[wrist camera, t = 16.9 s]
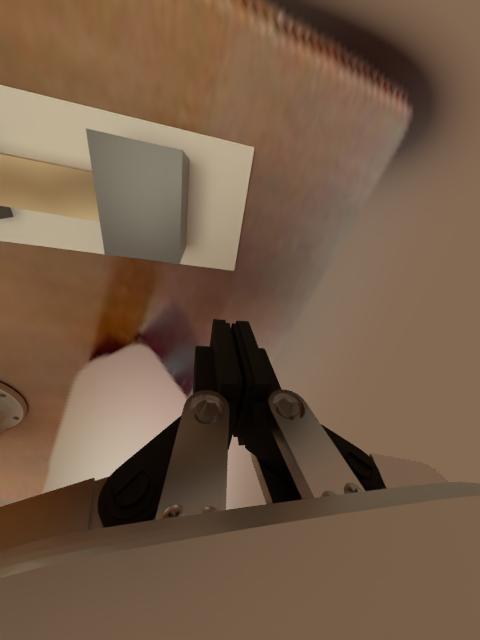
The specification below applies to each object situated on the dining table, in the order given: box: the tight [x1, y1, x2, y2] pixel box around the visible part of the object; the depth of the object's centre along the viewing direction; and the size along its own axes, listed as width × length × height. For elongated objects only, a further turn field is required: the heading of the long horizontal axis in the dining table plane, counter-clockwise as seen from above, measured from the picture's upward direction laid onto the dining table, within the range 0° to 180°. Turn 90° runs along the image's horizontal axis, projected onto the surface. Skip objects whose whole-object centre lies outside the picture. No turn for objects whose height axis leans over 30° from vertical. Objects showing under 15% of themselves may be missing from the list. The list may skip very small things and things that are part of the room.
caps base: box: [0, 85, 254, 271], centre depth 19 cm, size 12×28×5 cm, turn 80°
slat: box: [0, 152, 100, 222], centre depth 18 cm, size 4×16×4 cm, turn 80°
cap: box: [86, 128, 189, 265], centre depth 19 cm, size 8×6×6 cm
